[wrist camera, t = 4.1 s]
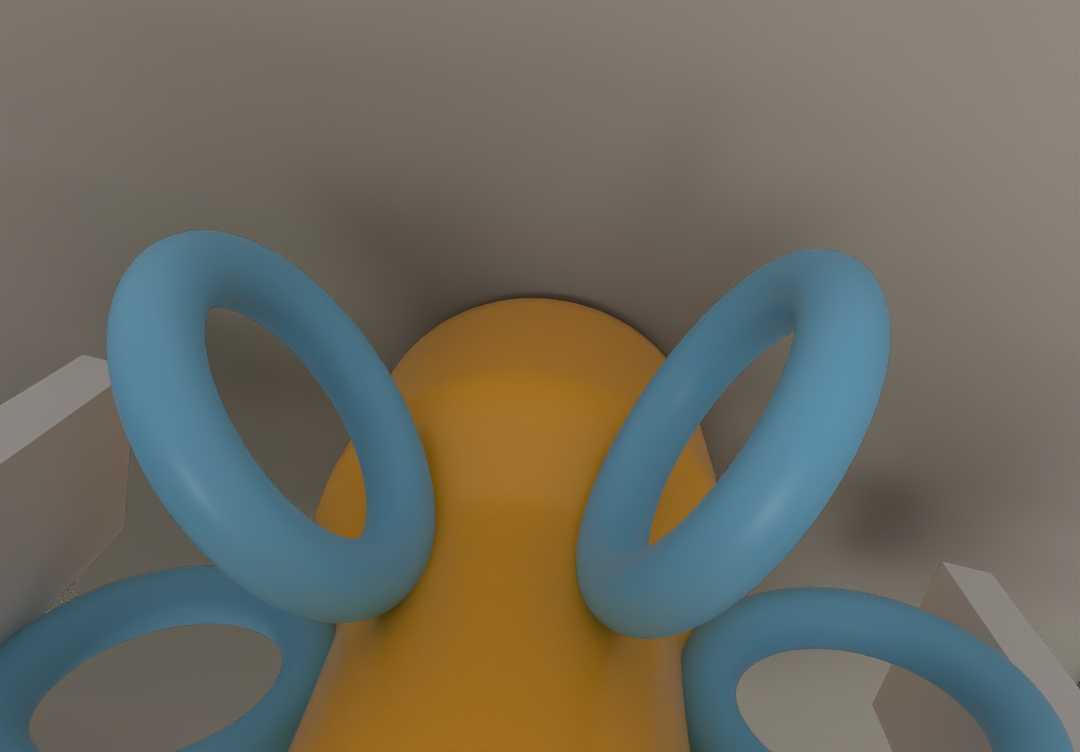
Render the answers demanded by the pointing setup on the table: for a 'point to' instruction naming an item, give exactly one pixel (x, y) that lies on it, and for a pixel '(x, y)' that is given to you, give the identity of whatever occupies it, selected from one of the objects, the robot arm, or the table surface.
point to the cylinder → (507, 520)
